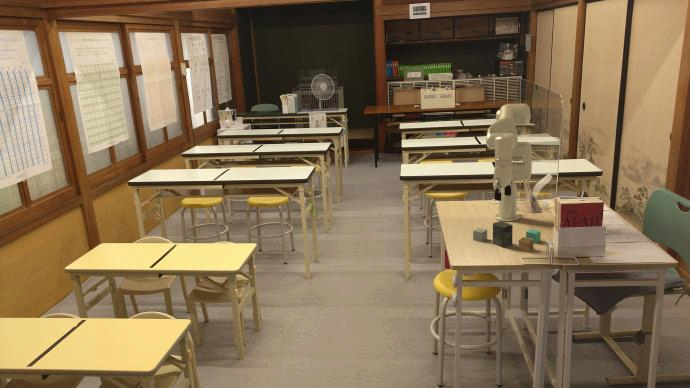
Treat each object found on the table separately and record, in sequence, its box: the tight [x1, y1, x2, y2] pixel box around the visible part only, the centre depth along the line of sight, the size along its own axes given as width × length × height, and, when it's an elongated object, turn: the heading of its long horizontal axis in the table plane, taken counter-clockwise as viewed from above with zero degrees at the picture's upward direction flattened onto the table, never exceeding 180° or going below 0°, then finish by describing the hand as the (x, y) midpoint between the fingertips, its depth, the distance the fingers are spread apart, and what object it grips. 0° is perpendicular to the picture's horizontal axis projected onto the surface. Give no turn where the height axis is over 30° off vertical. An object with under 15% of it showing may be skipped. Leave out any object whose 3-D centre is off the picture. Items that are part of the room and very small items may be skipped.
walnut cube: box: [518, 236, 535, 253], centre depth 249 cm, size 5×5×5 cm
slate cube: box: [472, 227, 488, 243], centre depth 265 cm, size 5×5×5 cm
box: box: [492, 220, 514, 248], centre depth 257 cm, size 8×6×11 cm
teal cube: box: [525, 228, 541, 244], centre depth 259 cm, size 5×5×5 cm
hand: (502, 197), depth 251 cm, fingers open, 9 cm apart
